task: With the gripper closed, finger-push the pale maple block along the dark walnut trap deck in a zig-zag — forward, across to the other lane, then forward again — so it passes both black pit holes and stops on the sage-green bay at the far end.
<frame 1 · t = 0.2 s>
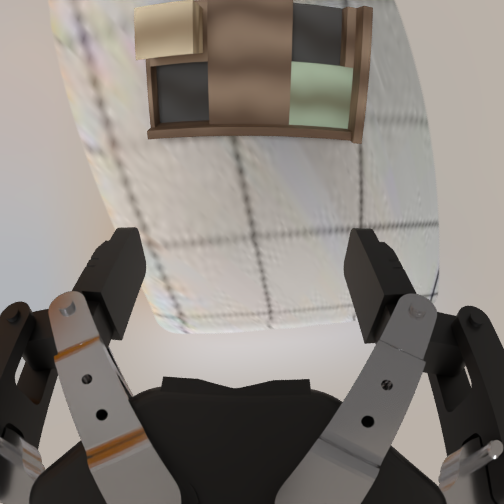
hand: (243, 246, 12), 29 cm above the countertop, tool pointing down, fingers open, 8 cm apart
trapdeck: (254, 63, 31), on the countertop
block: (177, 32, 27), point 2 cm above the countertop, touching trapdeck
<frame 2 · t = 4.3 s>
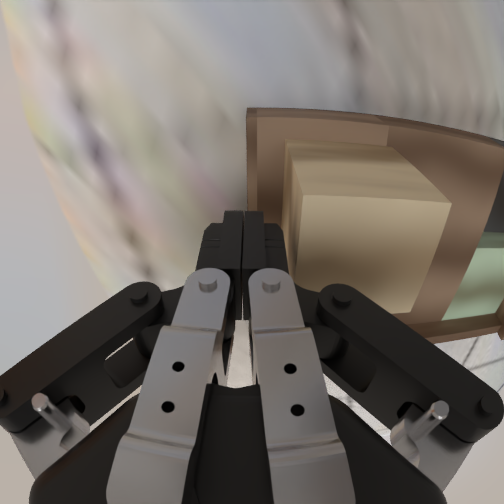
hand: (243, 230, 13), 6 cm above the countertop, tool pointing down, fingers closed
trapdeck: (417, 233, 20), on the countertop
block: (335, 192, 16), point 3 cm above the countertop, touching gripper
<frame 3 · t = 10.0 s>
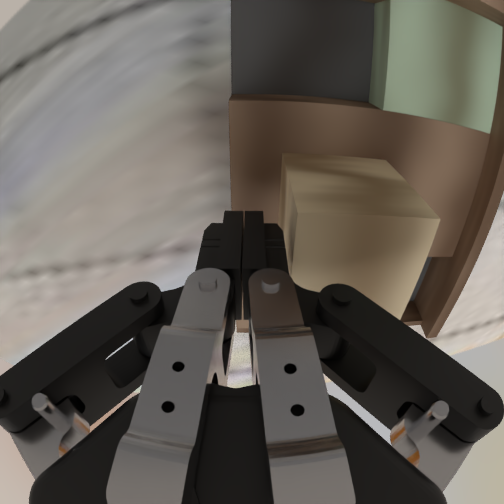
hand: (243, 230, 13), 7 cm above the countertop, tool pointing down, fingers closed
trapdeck: (366, 166, 18), on the countertop
block: (330, 203, 17), point 2 cm above the countertop, touching gripper, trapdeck
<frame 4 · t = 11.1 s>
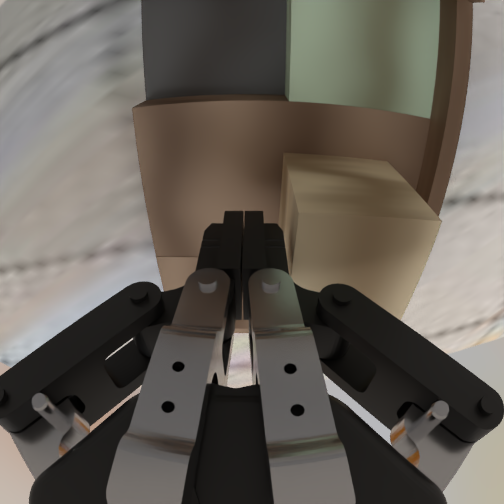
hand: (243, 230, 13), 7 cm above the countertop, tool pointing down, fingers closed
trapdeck: (290, 162, 18), on the countertop
block: (330, 204, 16), point 2 cm above the countertop, touching gripper, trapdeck
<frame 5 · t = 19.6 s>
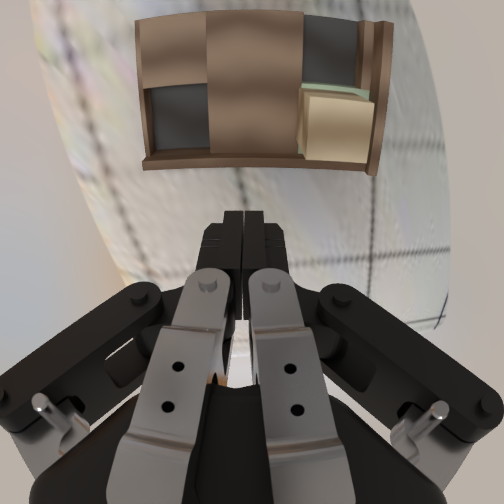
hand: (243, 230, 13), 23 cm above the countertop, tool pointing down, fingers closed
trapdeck: (259, 84, 29), on the countertop
block: (324, 115, 29), point 2 cm above the countertop, touching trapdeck
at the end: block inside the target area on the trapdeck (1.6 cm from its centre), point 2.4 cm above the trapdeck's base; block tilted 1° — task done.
